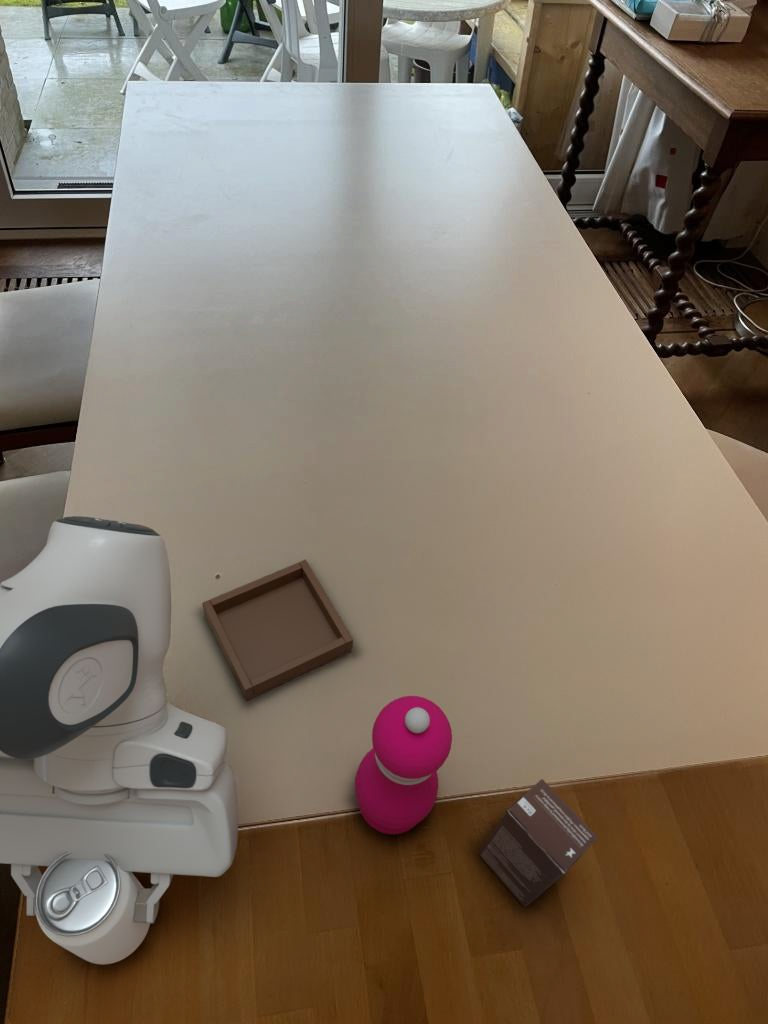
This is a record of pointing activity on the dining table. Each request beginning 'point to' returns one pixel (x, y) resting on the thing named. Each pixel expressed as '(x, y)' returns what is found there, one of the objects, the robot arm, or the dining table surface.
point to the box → (536, 843)
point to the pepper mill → (403, 764)
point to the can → (90, 908)
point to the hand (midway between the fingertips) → (94, 914)
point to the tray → (277, 628)
